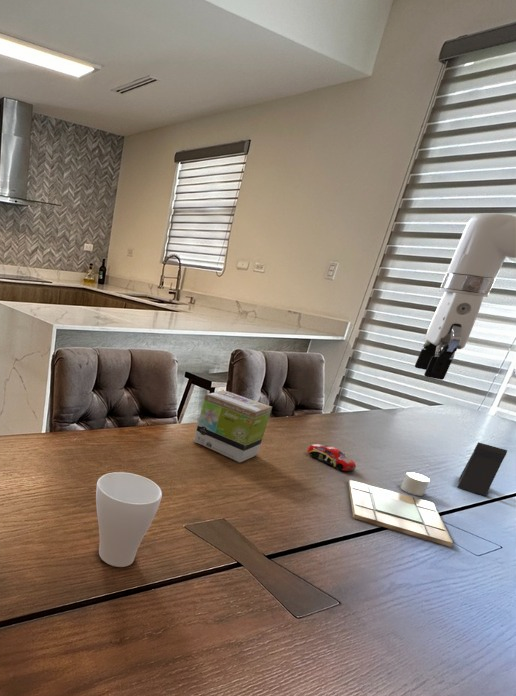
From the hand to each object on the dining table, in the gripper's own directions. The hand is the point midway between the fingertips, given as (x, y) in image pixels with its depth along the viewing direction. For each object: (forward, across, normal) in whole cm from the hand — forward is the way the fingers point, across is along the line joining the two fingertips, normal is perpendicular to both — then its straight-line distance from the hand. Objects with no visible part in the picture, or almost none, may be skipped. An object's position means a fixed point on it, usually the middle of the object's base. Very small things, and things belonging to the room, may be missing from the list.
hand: (427, 373), depth 96 cm
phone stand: (+32, +33, -28) cm, 54 cm away
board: (+32, +2, -5) cm, 32 cm away
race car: (+32, +24, +8) cm, 41 cm away
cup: (+32, -52, +44) cm, 75 cm away
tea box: (+32, +12, +35) cm, 49 cm away
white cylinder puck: (+32, +18, -11) cm, 39 cm away
